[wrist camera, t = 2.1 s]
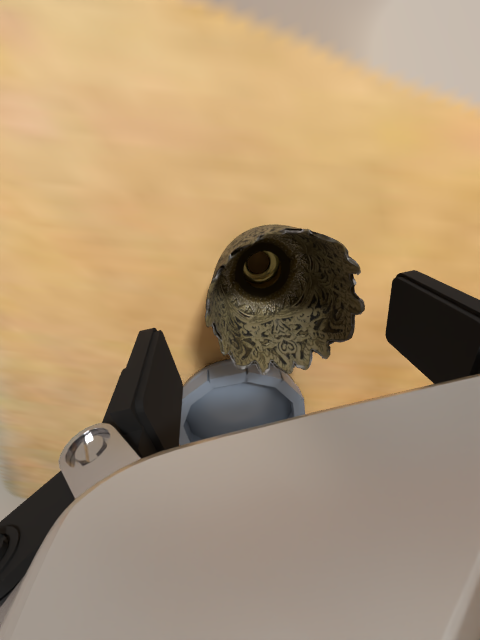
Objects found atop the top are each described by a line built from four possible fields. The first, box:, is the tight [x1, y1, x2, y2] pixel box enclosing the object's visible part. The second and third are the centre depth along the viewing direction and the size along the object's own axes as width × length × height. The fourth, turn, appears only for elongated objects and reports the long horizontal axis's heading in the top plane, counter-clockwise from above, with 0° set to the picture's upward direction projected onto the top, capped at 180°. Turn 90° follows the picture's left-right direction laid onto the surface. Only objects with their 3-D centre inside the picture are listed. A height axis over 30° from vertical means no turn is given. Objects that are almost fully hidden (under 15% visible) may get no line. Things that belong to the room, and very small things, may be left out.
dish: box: [179, 359, 305, 446], centre depth 25 cm, size 12×12×2 cm
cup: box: [205, 225, 365, 375], centre depth 16 cm, size 8×7×8 cm
